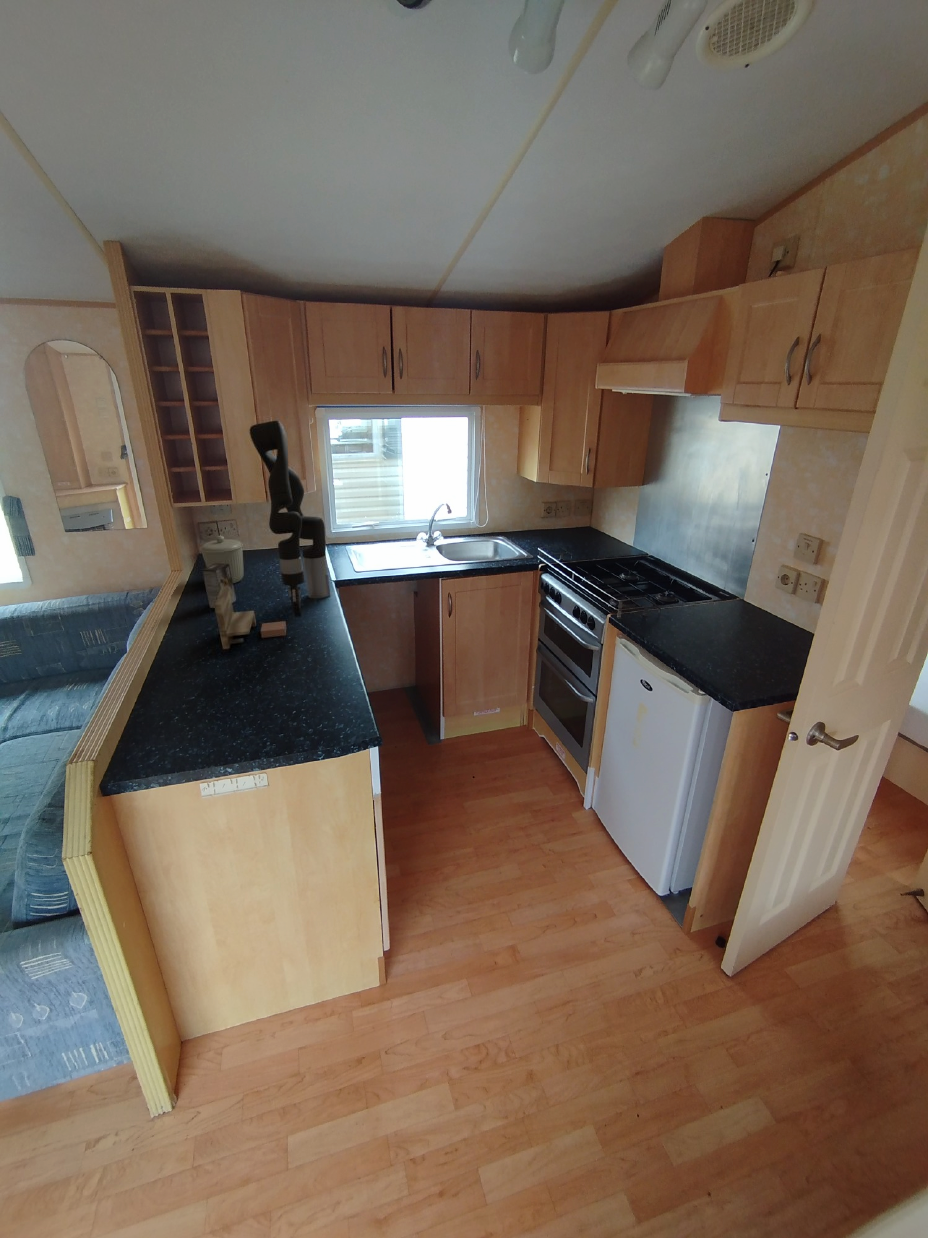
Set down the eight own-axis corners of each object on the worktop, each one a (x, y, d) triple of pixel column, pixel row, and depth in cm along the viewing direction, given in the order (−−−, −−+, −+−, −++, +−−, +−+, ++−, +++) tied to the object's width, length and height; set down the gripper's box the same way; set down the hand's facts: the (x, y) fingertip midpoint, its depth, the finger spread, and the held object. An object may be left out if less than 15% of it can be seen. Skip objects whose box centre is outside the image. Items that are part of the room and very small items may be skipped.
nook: (256, 624, 207) (249, 583, 200) (251, 645, 190) (243, 602, 183) (230, 627, 205) (222, 586, 199) (223, 649, 188) (214, 605, 182)
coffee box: (222, 599, 231) (215, 562, 225) (236, 600, 230) (229, 563, 224) (209, 607, 223) (201, 569, 216) (223, 608, 222) (216, 570, 215)
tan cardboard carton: (286, 627, 204) (285, 621, 203) (285, 635, 198) (284, 628, 197) (263, 629, 202) (262, 623, 201) (261, 637, 196) (260, 631, 195)
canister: (256, 580, 253) (248, 535, 245) (217, 590, 241) (208, 543, 233) (237, 572, 264) (229, 528, 256) (199, 581, 252) (190, 536, 244)
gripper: (302, 574, 188) (308, 622, 194) (303, 563, 200) (309, 608, 206) (279, 576, 186) (286, 624, 193) (281, 565, 198) (288, 610, 205)
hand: (298, 616), depth 199 cm, fingers closed
